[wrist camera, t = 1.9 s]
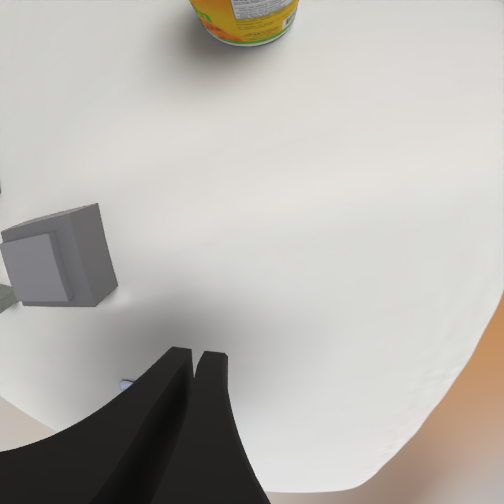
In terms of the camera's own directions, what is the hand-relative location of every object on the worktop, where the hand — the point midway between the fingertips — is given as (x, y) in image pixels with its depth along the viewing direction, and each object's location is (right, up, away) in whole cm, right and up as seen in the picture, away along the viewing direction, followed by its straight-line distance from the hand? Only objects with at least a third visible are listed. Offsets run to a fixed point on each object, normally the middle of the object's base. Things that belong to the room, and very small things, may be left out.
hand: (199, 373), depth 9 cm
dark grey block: (-12, +4, +10) cm, 16 cm away
